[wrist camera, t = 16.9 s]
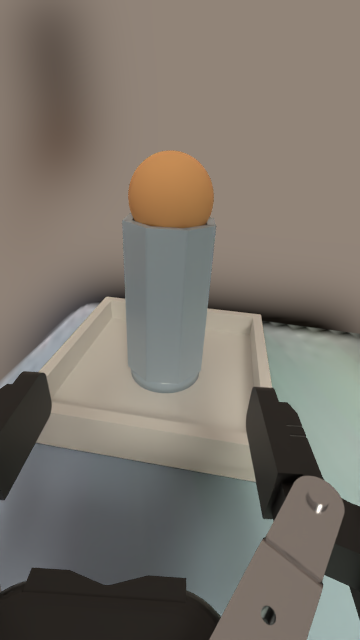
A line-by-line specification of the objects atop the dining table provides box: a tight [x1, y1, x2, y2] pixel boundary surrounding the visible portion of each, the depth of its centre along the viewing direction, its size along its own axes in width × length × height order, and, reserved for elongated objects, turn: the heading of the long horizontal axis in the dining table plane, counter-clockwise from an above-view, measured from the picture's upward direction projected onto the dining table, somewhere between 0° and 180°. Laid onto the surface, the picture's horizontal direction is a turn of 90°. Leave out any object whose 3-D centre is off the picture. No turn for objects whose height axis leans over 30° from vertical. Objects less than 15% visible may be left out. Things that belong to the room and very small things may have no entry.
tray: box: [36, 297, 272, 482], centre depth 25 cm, size 16×16×3 cm
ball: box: [128, 151, 214, 228], centre depth 19 cm, size 5×5×5 cm
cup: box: [122, 213, 216, 393], centre depth 22 cm, size 6×6×12 cm
